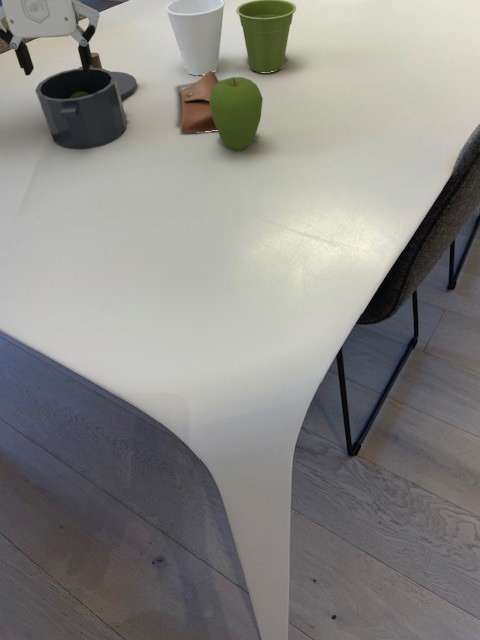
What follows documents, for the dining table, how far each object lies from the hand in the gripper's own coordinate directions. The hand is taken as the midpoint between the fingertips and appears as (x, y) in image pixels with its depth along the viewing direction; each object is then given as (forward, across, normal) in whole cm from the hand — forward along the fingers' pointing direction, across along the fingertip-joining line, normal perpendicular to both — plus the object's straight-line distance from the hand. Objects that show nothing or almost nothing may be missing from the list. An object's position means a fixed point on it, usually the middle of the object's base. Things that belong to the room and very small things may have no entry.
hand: (58, 70), depth 83 cm
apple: (+10, +30, -11) cm, 33 cm away
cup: (+10, +24, +24) cm, 35 cm away
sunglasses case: (+10, +23, +4) cm, 26 cm away
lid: (+10, +3, +17) cm, 20 cm away
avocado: (+10, +2, 0) cm, 10 cm away
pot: (+11, +3, 0) cm, 11 cm away
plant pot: (+9, +38, +22) cm, 45 cm away
